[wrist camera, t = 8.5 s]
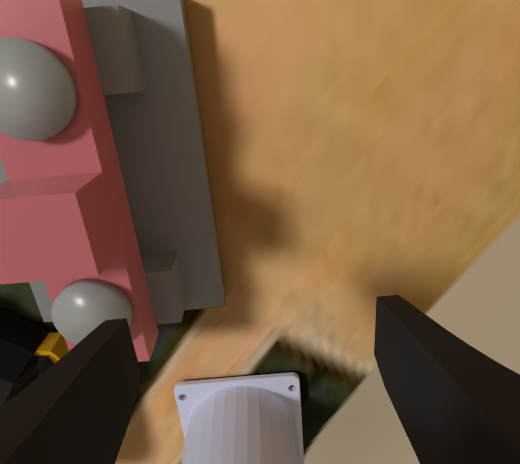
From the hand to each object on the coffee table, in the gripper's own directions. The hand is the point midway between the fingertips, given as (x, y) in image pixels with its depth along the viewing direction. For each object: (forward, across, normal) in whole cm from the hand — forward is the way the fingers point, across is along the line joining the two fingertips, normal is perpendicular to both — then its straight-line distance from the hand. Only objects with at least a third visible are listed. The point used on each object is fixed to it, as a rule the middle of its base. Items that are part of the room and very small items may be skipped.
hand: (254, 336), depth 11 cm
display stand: (+10, +7, -2) cm, 13 cm away
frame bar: (+7, +7, -2) cm, 10 cm away
